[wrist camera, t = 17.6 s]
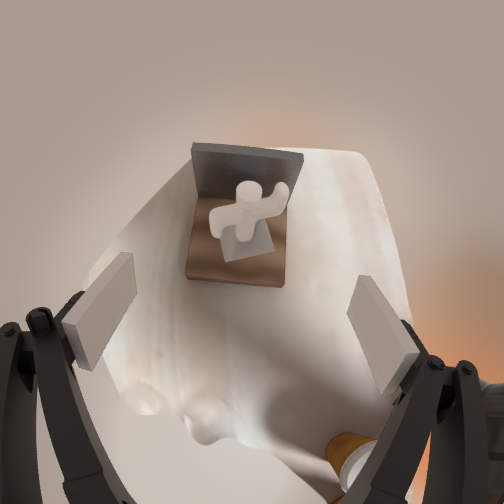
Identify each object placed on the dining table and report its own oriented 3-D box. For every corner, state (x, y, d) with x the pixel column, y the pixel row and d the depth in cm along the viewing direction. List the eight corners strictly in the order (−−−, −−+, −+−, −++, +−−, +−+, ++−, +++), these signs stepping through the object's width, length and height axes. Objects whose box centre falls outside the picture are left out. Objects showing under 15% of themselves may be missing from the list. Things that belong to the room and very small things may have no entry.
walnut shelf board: (281, 287, 44) (284, 284, 42) (187, 278, 43) (184, 274, 41) (284, 205, 49) (287, 198, 47) (200, 197, 48) (199, 189, 46)
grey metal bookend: (286, 205, 46) (303, 161, 35) (198, 196, 46) (190, 150, 34) (287, 198, 47) (303, 153, 36) (199, 189, 46) (193, 142, 35)
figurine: (208, 228, 44) (200, 172, 30) (265, 216, 45) (280, 158, 31) (218, 271, 41) (213, 229, 27) (278, 257, 43) (301, 211, 29)
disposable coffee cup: (314, 476, 33) (339, 507, 22) (317, 428, 36) (347, 450, 25) (365, 465, 34) (400, 489, 22) (370, 419, 37) (409, 434, 26)
